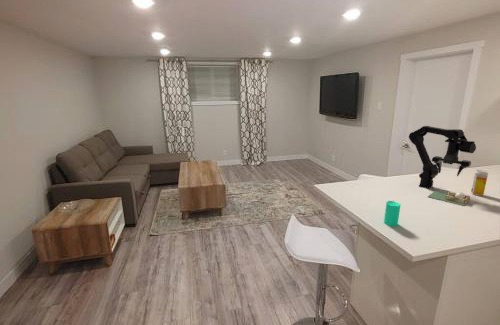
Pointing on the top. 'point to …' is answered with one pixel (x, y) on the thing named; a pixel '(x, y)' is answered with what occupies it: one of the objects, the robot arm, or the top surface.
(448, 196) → the u-shaped wooden rail
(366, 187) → the top surface
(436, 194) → the putting mat
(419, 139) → the robot arm
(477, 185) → the orange cylindrical container
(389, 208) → the candle
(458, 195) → the golf ball
